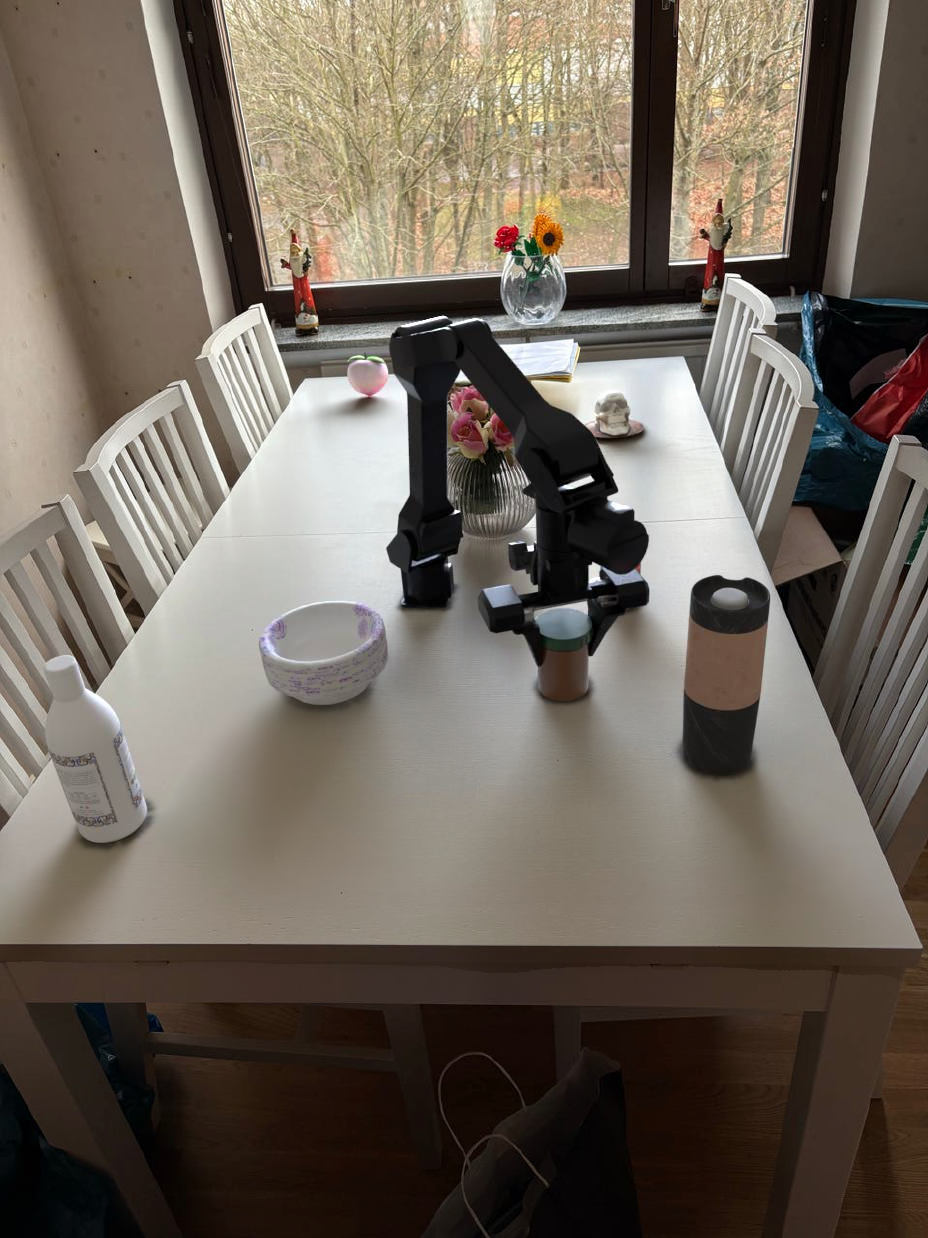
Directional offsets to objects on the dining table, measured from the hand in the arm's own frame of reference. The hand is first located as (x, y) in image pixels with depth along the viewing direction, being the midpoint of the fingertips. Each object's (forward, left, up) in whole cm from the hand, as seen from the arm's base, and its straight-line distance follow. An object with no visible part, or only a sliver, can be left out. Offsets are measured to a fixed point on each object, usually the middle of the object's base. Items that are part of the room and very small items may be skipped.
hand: (564, 659), depth 112 cm
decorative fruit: (-52, +110, -4) cm, 122 cm away
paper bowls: (-29, -1, -4) cm, 29 cm away
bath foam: (-45, -27, -4) cm, 53 cm away
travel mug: (+17, -11, -4) cm, 21 cm away
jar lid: (0, 0, +5) cm, 5 cm away
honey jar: (0, 0, -4) cm, 4 cm away
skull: (+3, +87, -4) cm, 87 cm away
